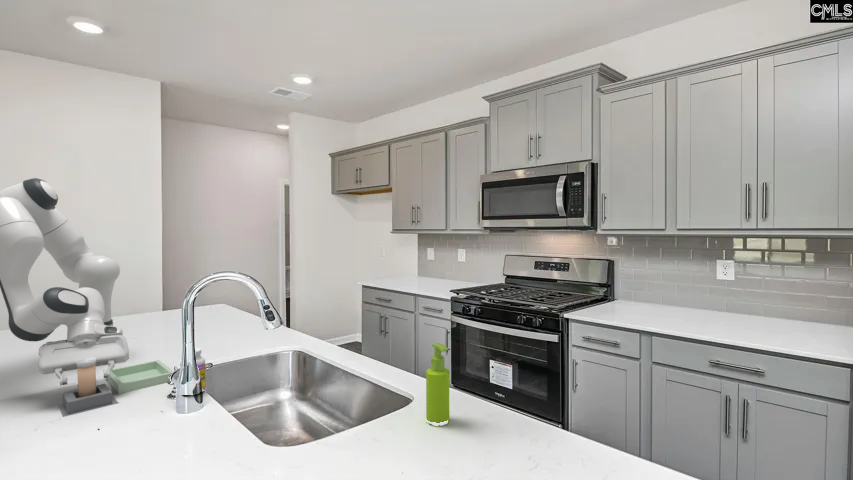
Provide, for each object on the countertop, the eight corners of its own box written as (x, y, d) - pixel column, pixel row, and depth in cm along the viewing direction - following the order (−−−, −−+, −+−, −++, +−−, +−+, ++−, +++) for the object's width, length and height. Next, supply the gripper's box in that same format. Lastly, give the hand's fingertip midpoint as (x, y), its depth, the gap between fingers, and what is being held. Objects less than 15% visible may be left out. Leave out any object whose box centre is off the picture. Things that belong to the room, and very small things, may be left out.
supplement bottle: (195, 397, 129) (194, 354, 128) (175, 395, 130) (174, 352, 130) (210, 389, 135) (209, 347, 135) (191, 387, 137) (190, 346, 136)
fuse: (76, 403, 123) (74, 360, 122) (96, 398, 126) (94, 356, 125) (79, 407, 120) (77, 364, 119) (99, 403, 123) (97, 360, 122)
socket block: (57, 406, 123) (56, 392, 122) (109, 394, 131) (109, 381, 131) (63, 420, 114) (62, 405, 114) (118, 406, 123) (118, 392, 123)
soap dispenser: (435, 430, 108) (435, 349, 107) (422, 419, 114) (422, 342, 114) (455, 425, 111) (455, 346, 110) (442, 414, 117) (442, 339, 116)
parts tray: (106, 381, 142) (105, 370, 142) (159, 369, 153) (158, 359, 153) (118, 396, 129) (118, 385, 129) (175, 383, 140) (175, 372, 140)
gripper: (37, 337, 121) (33, 382, 114) (127, 326, 133) (129, 367, 126) (40, 349, 125) (37, 394, 118) (127, 338, 137) (129, 378, 130)
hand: (85, 380), depth 122 cm, fingers open, 8 cm apart
